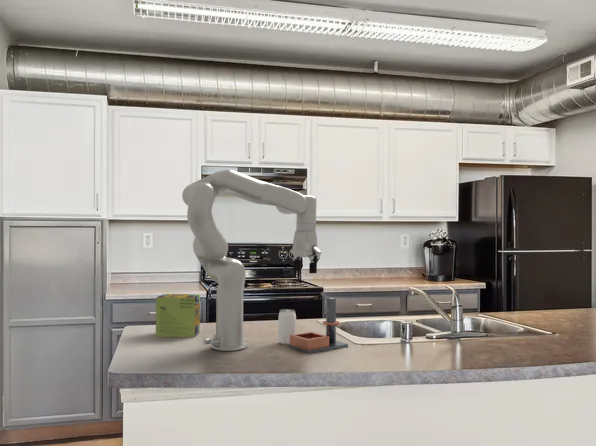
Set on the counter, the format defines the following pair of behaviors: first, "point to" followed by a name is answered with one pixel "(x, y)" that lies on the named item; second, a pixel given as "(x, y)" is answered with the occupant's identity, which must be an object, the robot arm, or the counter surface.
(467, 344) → the counter surface
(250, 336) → the counter surface
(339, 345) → the grey and orange stand
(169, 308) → the protein box
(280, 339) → the can
